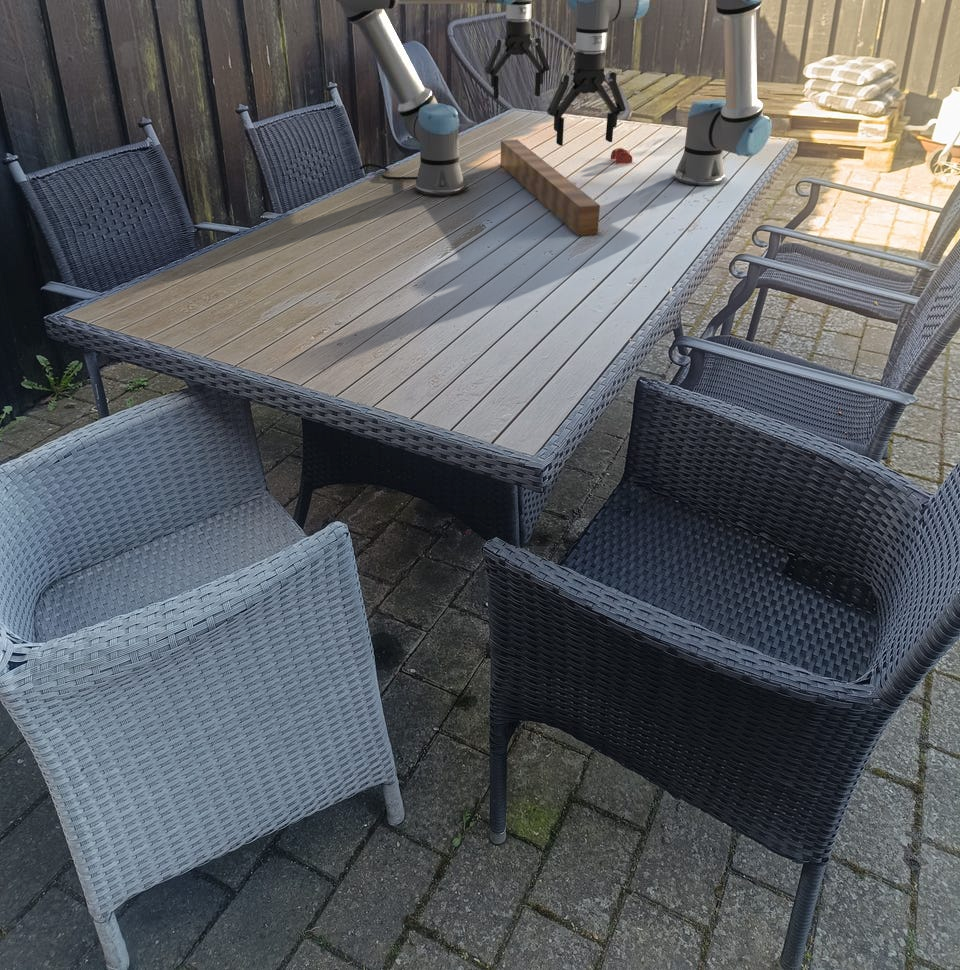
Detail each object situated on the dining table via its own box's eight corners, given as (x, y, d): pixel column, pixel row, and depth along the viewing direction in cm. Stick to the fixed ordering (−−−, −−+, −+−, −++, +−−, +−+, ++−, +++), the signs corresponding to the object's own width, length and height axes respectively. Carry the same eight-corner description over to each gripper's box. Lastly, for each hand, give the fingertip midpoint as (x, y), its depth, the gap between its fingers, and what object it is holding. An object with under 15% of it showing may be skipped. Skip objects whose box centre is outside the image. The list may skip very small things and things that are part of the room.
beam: (500, 164, 281) (500, 140, 277) (516, 163, 283) (517, 139, 278) (577, 236, 224) (579, 206, 220) (597, 234, 226) (600, 205, 221)
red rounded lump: (625, 144, 285) (634, 150, 279) (624, 157, 288) (633, 163, 282) (609, 146, 284) (618, 152, 278) (609, 159, 287) (617, 165, 281)
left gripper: (481, 23, 246) (481, 101, 258) (562, 20, 251) (558, 97, 263) (475, 19, 252) (475, 96, 264) (553, 17, 257) (550, 92, 269)
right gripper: (547, 56, 200) (543, 149, 212) (644, 51, 205) (634, 142, 217) (537, 51, 205) (533, 142, 218) (631, 46, 211) (623, 136, 223)
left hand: (516, 97), depth 264 cm, fingers open, 13 cm apart
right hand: (584, 142), depth 218 cm, fingers open, 13 cm apart
